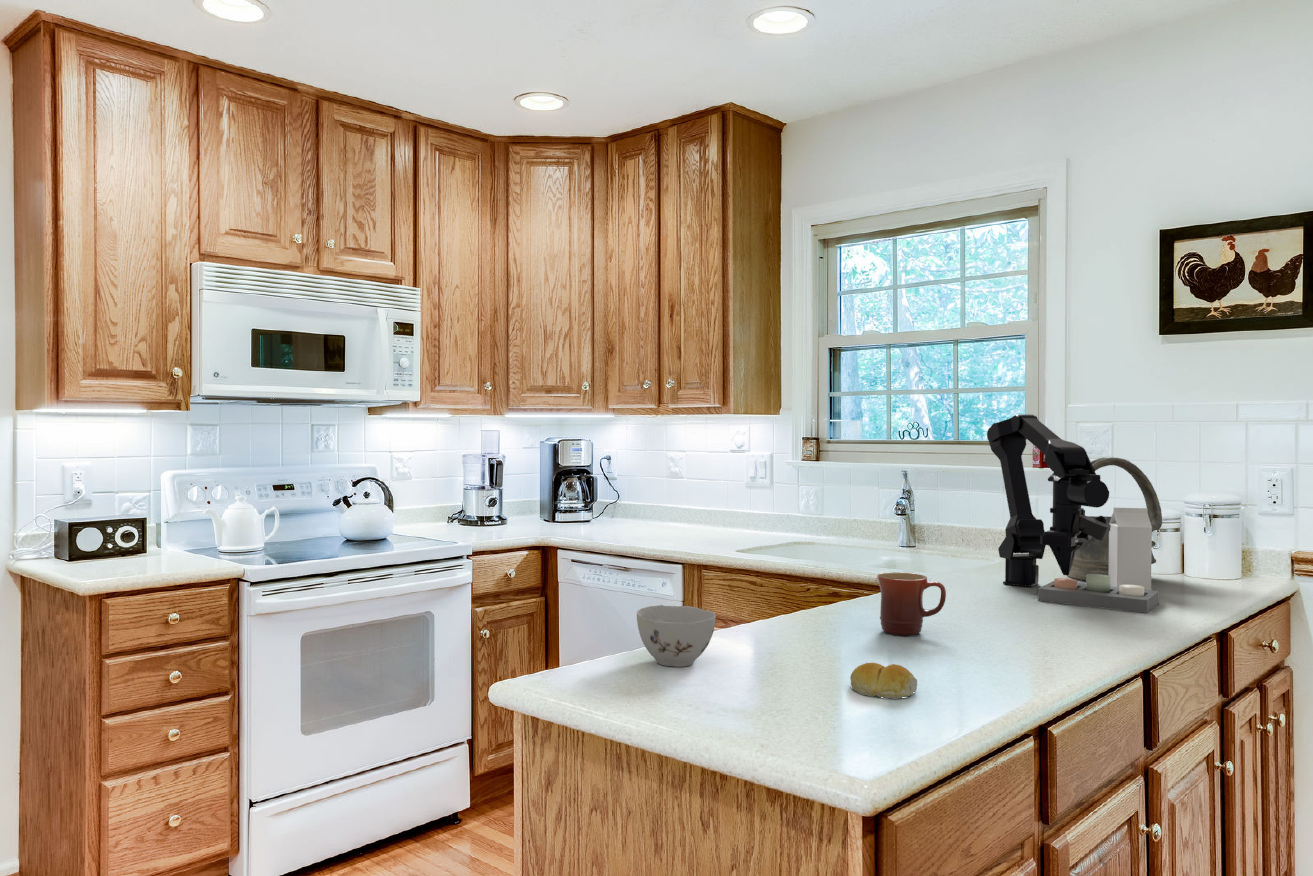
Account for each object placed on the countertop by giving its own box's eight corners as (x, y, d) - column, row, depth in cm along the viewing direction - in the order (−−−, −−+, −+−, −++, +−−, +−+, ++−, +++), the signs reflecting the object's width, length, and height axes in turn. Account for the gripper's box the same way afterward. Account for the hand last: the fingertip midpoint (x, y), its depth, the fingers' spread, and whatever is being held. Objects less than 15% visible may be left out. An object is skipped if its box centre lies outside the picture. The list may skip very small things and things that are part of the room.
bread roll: (861, 680, 136) (861, 653, 136) (921, 690, 131) (922, 662, 131) (840, 694, 129) (840, 665, 129) (903, 705, 124) (903, 675, 124)
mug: (874, 635, 164) (874, 578, 164) (878, 625, 172) (879, 571, 172) (944, 641, 160) (945, 582, 160) (946, 630, 168) (946, 574, 168)
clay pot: (1158, 589, 213) (1160, 459, 213) (1050, 579, 226) (1051, 457, 225) (1163, 576, 232) (1165, 457, 232) (1063, 568, 244) (1065, 454, 244)
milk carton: (1151, 594, 206) (1152, 509, 206) (1116, 593, 208) (1118, 508, 207) (1141, 589, 213) (1142, 507, 213) (1108, 587, 215) (1109, 506, 214)
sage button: (1083, 590, 197) (1083, 576, 196) (1089, 587, 200) (1089, 573, 200) (1107, 592, 194) (1107, 578, 194) (1112, 589, 197) (1112, 575, 197)
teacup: (698, 677, 137) (698, 623, 136) (622, 667, 142) (622, 615, 141) (731, 654, 150) (732, 605, 150) (661, 646, 155) (661, 599, 155)
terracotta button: (1051, 593, 201) (1051, 580, 200) (1057, 590, 204) (1057, 577, 204) (1074, 596, 198) (1074, 582, 198) (1079, 593, 201) (1079, 579, 201)
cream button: (1117, 601, 193) (1117, 586, 193) (1121, 597, 196) (1122, 583, 196) (1141, 603, 190) (1141, 589, 190) (1145, 600, 193) (1146, 586, 193)
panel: (1037, 600, 198) (1038, 588, 198) (1054, 592, 209) (1054, 580, 209) (1146, 613, 185) (1147, 600, 185) (1158, 603, 196) (1158, 591, 196)
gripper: (1096, 508, 188) (1096, 585, 188) (1116, 503, 203) (1116, 573, 203) (1039, 505, 195) (1039, 579, 195) (1063, 500, 210) (1062, 568, 210)
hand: (1066, 575), depth 201 cm, fingers closed
